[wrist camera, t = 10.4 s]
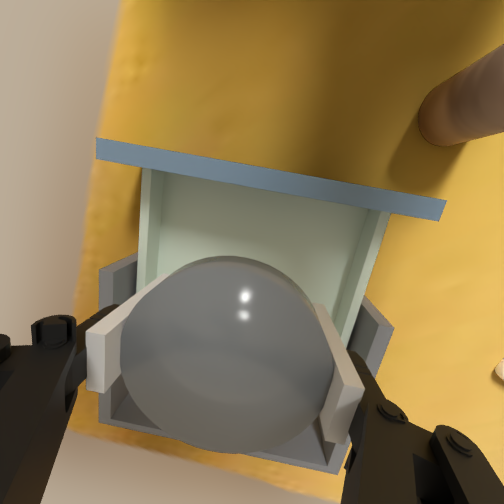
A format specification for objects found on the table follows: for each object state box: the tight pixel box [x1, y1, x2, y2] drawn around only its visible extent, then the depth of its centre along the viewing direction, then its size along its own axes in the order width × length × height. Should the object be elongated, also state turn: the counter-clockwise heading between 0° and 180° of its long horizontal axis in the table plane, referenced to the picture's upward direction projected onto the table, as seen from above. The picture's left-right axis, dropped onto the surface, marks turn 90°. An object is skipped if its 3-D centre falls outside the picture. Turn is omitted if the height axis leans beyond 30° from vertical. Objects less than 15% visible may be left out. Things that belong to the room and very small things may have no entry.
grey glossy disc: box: [120, 256, 333, 454], centre depth 11 cm, size 9×9×2 cm
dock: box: [99, 252, 394, 475], centre depth 24 cm, size 16×24×6 cm
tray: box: [96, 138, 447, 349], centre depth 21 cm, size 17×24×6 cm
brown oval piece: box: [418, 44, 504, 146], centre depth 16 cm, size 5×5×6 cm
